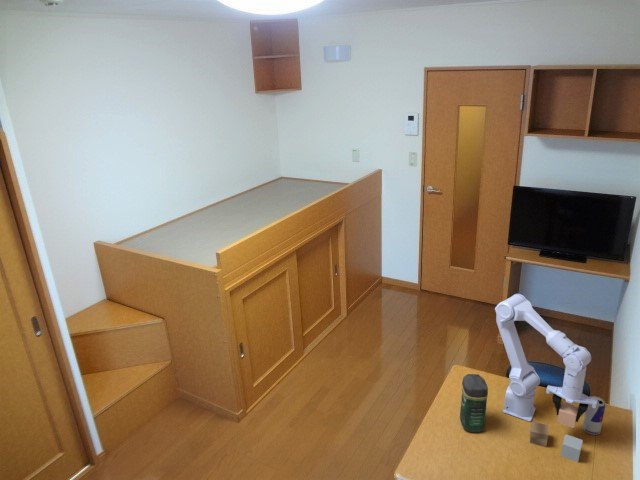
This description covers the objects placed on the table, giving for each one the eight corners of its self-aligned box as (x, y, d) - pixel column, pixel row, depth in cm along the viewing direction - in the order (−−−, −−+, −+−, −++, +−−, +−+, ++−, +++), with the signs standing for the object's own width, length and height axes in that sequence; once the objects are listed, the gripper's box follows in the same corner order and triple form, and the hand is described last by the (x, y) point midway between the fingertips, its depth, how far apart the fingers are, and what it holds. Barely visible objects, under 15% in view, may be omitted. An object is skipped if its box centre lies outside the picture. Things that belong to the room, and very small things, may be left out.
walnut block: (529, 443, 161) (531, 431, 159) (530, 432, 165) (532, 421, 163) (546, 447, 159) (548, 435, 157) (546, 436, 163) (548, 425, 161)
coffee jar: (487, 433, 166) (491, 389, 159) (463, 433, 166) (466, 389, 159) (480, 414, 175) (483, 371, 168) (457, 414, 175) (460, 371, 168)
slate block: (560, 456, 155) (562, 444, 153) (563, 446, 159) (565, 434, 157) (578, 462, 152) (580, 450, 151) (580, 452, 156) (582, 440, 154)
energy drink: (602, 436, 162) (608, 407, 157) (585, 434, 163) (590, 406, 159) (597, 424, 167) (602, 396, 162) (580, 423, 168) (585, 395, 163)
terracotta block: (557, 422, 160) (559, 410, 158) (560, 413, 163) (562, 401, 162) (574, 428, 157) (576, 415, 155) (576, 418, 161) (578, 406, 159)
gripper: (546, 382, 156) (541, 416, 161) (597, 397, 148) (590, 432, 153) (550, 370, 161) (545, 403, 166) (600, 385, 153) (593, 419, 158)
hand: (567, 416), depth 160 cm, fingers closed on terracotta block, 5 cm apart
